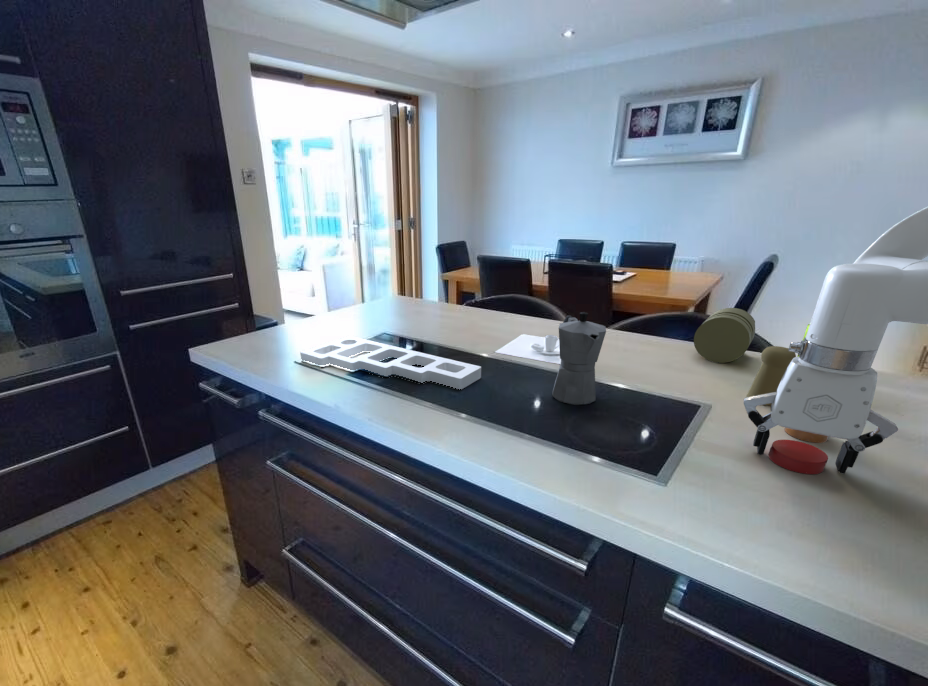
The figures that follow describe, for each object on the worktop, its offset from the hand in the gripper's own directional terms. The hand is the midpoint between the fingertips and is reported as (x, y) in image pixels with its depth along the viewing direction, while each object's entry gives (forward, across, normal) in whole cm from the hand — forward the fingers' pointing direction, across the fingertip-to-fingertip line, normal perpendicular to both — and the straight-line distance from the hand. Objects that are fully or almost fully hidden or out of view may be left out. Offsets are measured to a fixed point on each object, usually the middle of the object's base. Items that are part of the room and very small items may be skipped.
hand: (798, 459), depth 68 cm
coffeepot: (+1, -37, +8) cm, 38 cm away
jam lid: (-1, 0, 0) cm, 1 cm away
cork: (+1, -4, +25) cm, 25 cm away
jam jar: (+1, +2, +11) cm, 12 cm away
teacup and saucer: (+1, -53, +34) cm, 63 cm away
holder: (0, -81, -1) cm, 81 cm away
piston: (+1, -12, +51) cm, 52 cm away
